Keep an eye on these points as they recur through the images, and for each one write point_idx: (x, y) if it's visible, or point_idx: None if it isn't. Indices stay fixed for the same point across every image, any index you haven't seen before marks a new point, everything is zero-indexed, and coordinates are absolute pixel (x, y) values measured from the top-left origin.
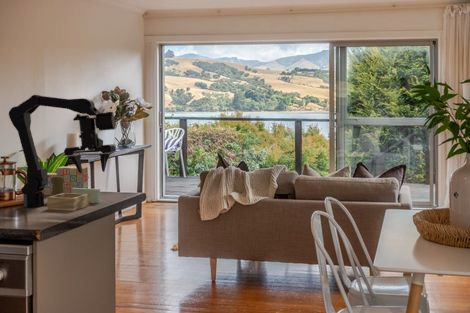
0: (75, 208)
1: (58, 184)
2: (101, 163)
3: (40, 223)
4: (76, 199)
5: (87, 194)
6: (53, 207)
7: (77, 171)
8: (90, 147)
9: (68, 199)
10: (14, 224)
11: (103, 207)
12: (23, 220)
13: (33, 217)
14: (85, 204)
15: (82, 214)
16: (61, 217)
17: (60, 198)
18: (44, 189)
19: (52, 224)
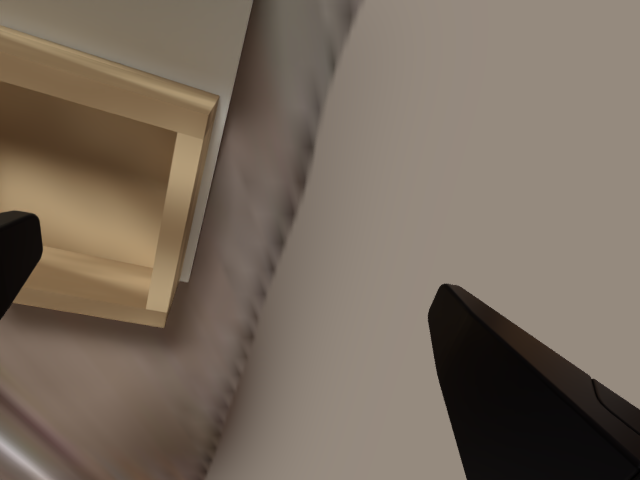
0: (182, 266)
1: None
2: (474, 478)
3: (131, 456)
4: (173, 287)
5: (202, 138)
6: None
7: None
8: None
9: (124, 316)
10: (29, 476)
11: (325, 71)
12: (11, 422)
13: (12, 370)
14: (206, 151)
15: (247, 298)
16: (165, 363)
17: (47, 306)
18: None
19: (190, 464)
